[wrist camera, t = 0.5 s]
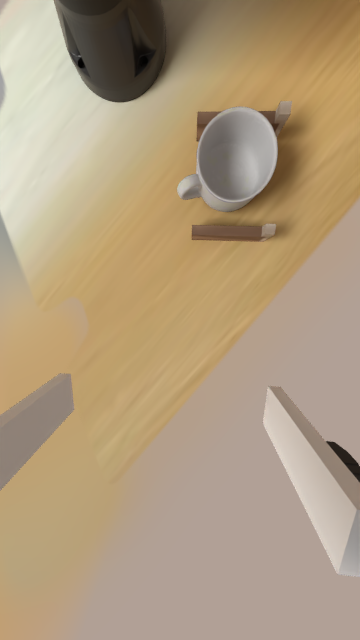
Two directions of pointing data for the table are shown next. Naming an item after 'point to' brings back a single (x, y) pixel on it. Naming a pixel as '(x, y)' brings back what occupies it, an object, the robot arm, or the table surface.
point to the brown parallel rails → (240, 232)
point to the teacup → (232, 160)
